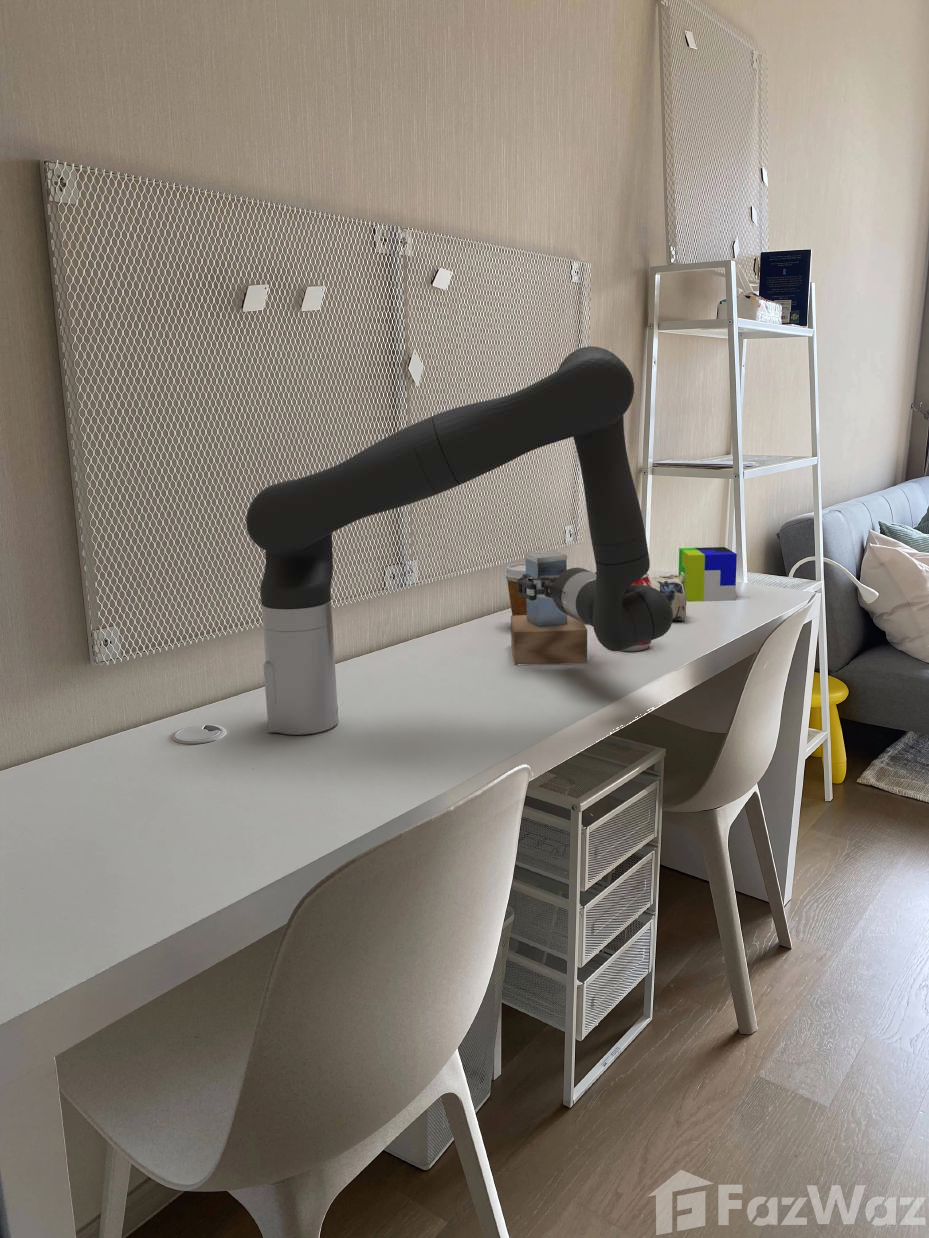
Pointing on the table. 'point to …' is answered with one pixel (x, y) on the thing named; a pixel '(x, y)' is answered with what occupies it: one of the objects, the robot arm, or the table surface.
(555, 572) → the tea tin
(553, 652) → the walnut box
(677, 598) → the pencil case
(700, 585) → the puzzle toy
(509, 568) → the disposable coffee cup
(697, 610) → the table surface
